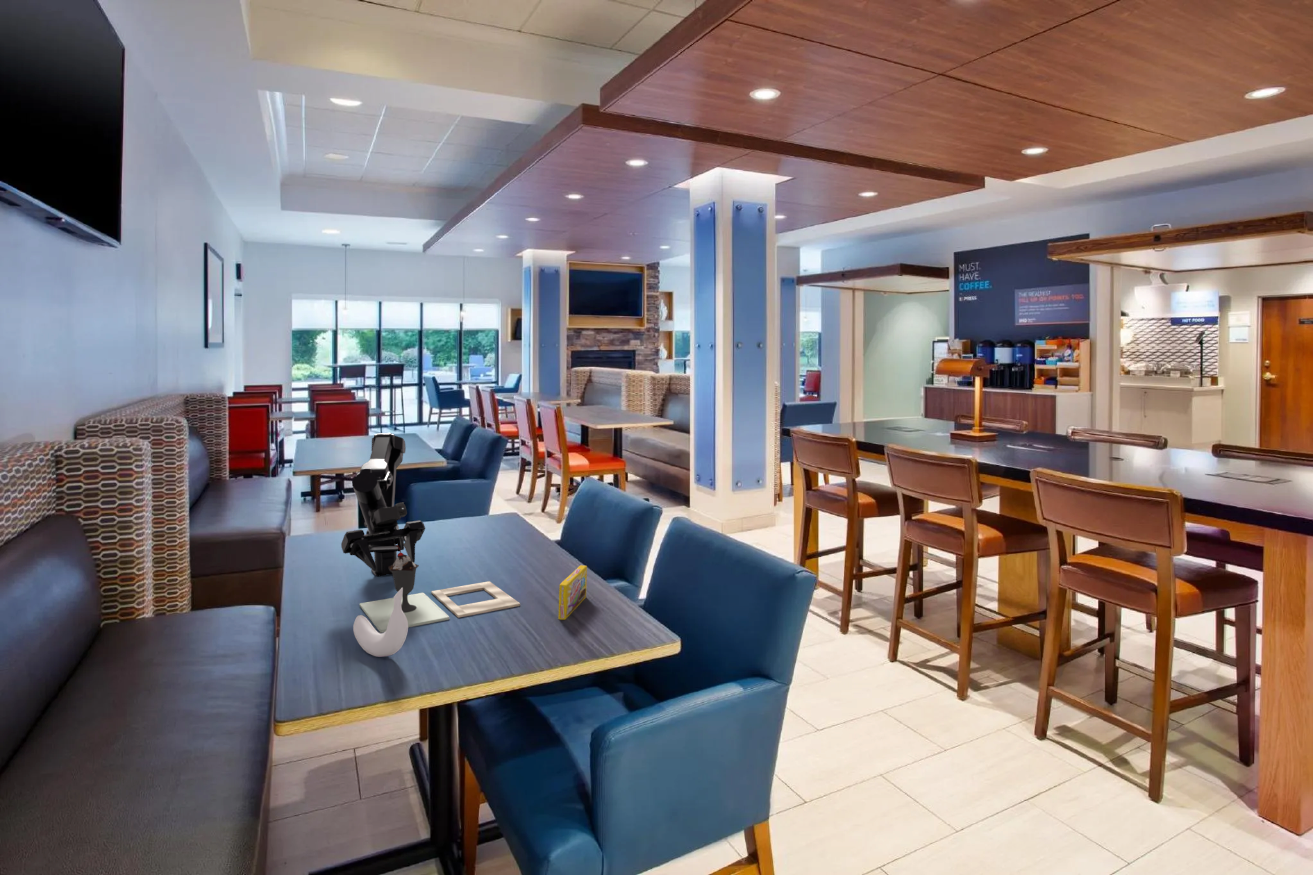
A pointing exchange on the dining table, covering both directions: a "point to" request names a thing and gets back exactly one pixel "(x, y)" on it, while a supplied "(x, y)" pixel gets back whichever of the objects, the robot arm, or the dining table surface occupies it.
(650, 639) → the dining table surface
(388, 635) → the white curved piece
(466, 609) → the wooden picture frame
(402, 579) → the sundae
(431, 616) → the stub pad
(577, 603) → the candy box
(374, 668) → the dining table surface
